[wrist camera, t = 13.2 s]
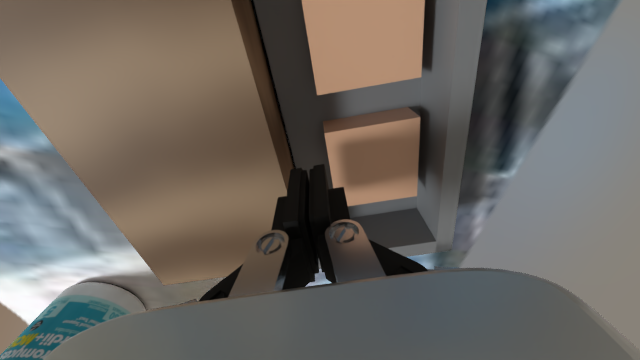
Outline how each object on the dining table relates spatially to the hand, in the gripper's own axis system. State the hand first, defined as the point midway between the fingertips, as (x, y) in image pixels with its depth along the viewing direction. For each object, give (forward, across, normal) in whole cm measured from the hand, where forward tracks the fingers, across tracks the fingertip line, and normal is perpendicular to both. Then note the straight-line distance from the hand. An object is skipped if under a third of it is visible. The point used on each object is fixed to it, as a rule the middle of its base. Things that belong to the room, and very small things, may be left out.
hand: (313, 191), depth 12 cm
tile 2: (+2, -4, -7) cm, 8 cm away
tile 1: (+2, -4, 0) cm, 4 cm away
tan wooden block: (+5, +6, -3) cm, 9 cm away
